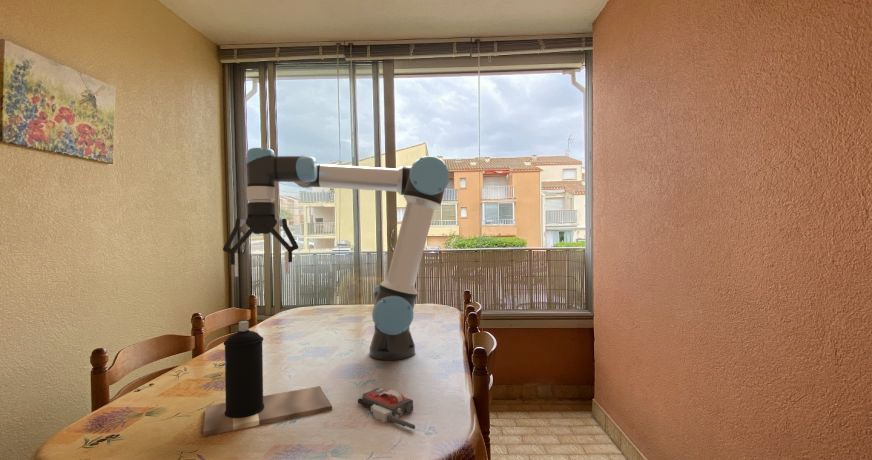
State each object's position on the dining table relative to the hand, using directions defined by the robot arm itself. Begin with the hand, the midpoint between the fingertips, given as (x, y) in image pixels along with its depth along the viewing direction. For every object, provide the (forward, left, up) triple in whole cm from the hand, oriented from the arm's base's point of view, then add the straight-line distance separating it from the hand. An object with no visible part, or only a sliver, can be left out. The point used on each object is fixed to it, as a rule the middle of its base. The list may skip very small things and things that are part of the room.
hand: (262, 275), depth 123 cm
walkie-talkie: (-24, +43, -29) cm, 57 cm away
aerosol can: (+6, +28, -28) cm, 40 cm away
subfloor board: (+1, +28, -29) cm, 40 cm away
